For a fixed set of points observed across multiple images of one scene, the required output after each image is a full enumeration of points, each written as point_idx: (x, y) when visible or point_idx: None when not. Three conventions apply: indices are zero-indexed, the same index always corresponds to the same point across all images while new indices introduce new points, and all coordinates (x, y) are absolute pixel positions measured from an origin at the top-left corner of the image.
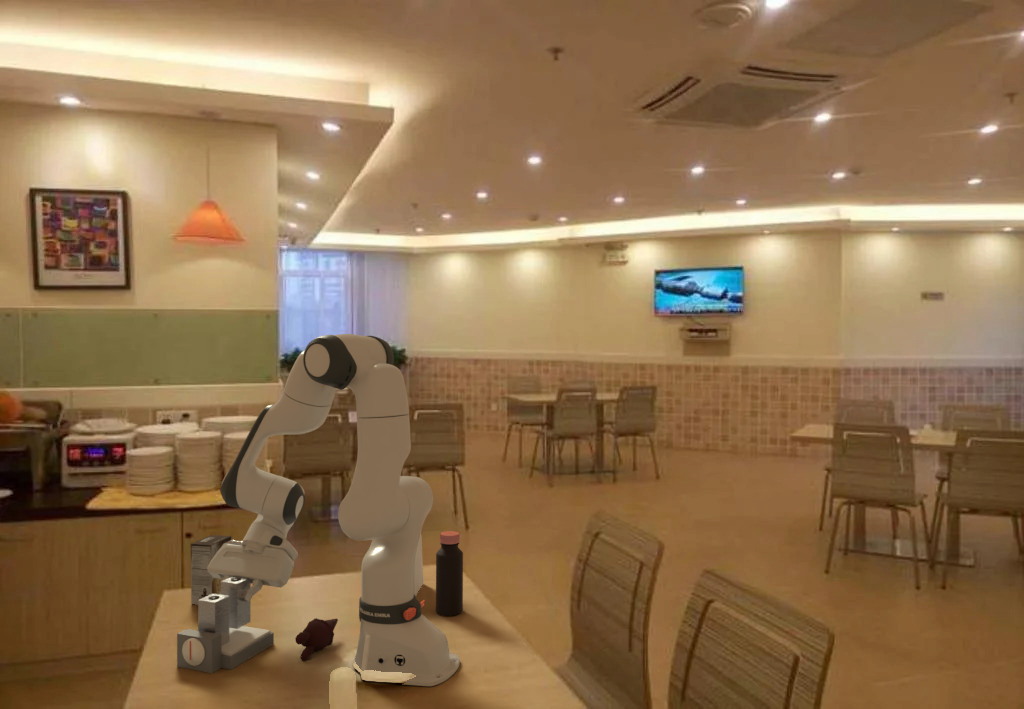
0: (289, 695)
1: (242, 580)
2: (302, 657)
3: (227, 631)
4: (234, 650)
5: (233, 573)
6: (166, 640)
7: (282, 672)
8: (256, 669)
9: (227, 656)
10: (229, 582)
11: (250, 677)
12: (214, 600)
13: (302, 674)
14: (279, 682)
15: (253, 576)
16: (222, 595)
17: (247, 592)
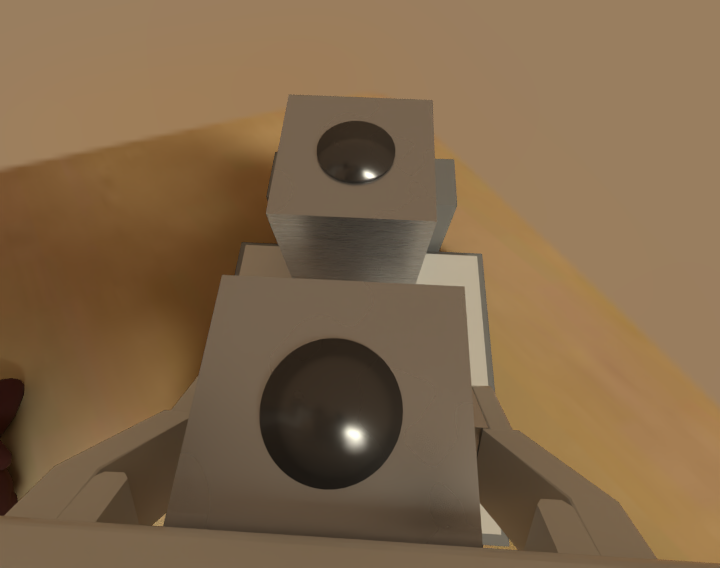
0: (17, 186)
1: (219, 404)
2: (8, 379)
3: None
4: (244, 266)
5: (486, 560)
6: (659, 399)
7: (76, 291)
8: (172, 286)
9: (257, 243)
10: (342, 286)
11: (168, 238)
12: (317, 118)
13: (3, 297)
14: (66, 236)
15: (43, 530)
16: (326, 205)
17: (191, 399)
